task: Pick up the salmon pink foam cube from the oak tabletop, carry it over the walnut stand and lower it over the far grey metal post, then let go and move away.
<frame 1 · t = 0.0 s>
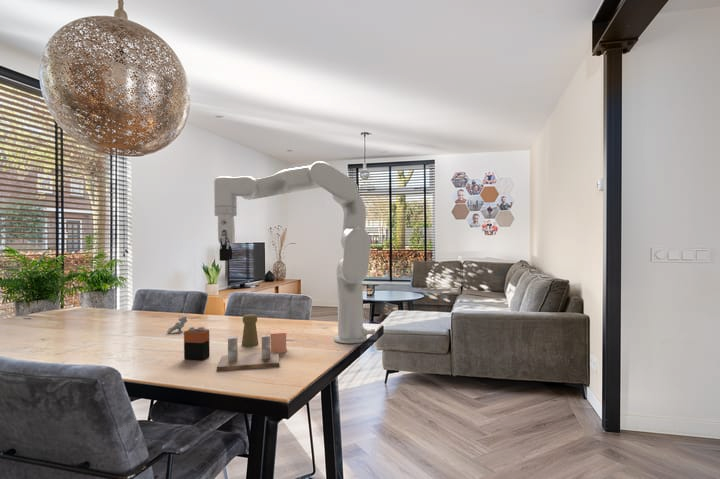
hand: (226, 259, 147), 31 cm above the table, tool pointing down, fingers open, 9 cm apart
salmon pink foam cube: (278, 350, 142), on the table
grey animal figurine: (179, 332, 172), on the table
cork: (250, 345, 151), on the table
peg stand: (249, 362, 128), on the table
battery: (197, 359, 134), on the table
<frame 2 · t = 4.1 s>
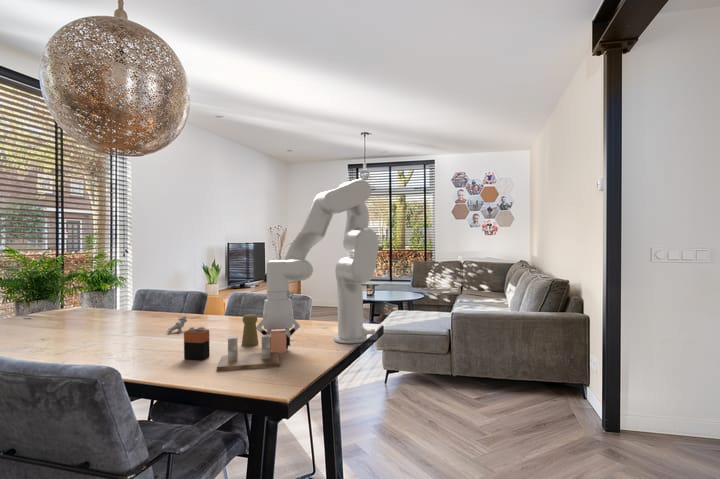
hand: (278, 347, 142), 1 cm above the table, tool pointing down, fingers closed on salmon pink foam cube, 5 cm apart
salmon pink foam cube: (278, 350, 142), on the table, touching gripper
everything else where it was.
when the fingers open (4 cm above the table, at t = 10.5 s): salmon pink foam cube stays where it is, resting on peg stand.
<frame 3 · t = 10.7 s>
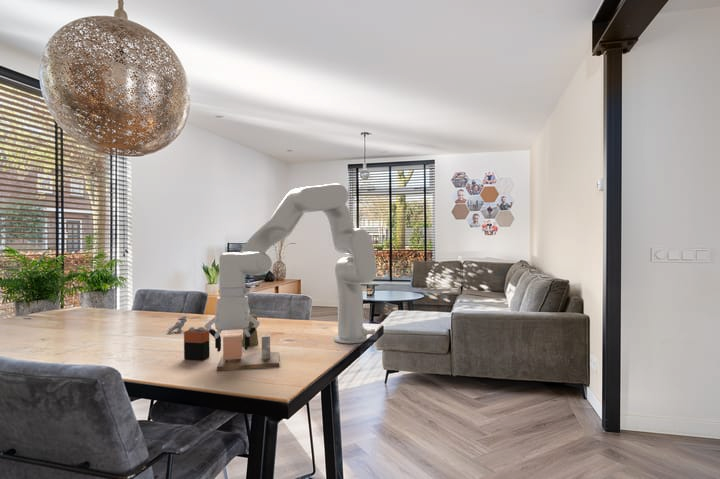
hand: (232, 349, 127), 5 cm above the table, tool pointing down, fingers open, 7 cm apart
salmon pink foam cube: (233, 356, 127), point 2 cm above the table, touching peg stand
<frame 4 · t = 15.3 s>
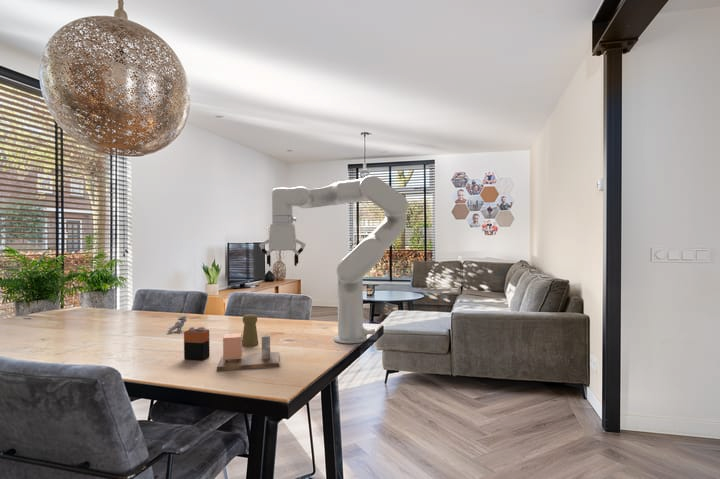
hand: (282, 265, 156), 28 cm above the table, tool pointing down, fingers open, 9 cm apart
at the end: salmon pink foam cube 0.0 cm from the target spot on the peg stand, point 2.2 cm above the peg stand's base; salmon pink foam cube tilted 0°; the gripper is holding nothing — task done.
